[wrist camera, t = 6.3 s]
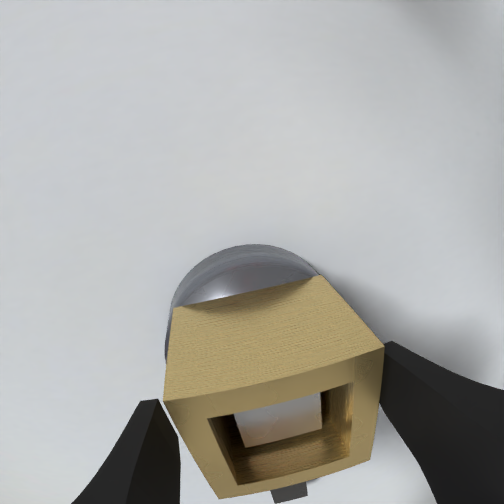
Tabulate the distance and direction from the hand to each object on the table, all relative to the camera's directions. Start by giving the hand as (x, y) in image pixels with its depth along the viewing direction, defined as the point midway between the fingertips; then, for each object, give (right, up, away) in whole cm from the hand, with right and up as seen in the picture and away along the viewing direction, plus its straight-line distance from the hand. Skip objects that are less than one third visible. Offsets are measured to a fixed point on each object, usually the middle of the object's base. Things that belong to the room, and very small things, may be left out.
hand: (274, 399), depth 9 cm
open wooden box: (0, +1, +2) cm, 2 cm away
